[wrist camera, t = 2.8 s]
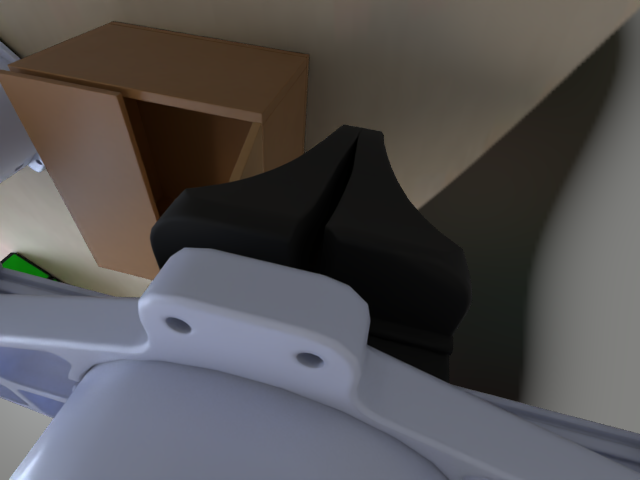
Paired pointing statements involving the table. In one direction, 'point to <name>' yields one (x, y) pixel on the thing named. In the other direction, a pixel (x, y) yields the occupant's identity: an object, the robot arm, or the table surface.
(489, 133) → the table surface
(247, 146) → the flap
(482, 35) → the table surface
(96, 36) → the carton
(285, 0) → the table surface
